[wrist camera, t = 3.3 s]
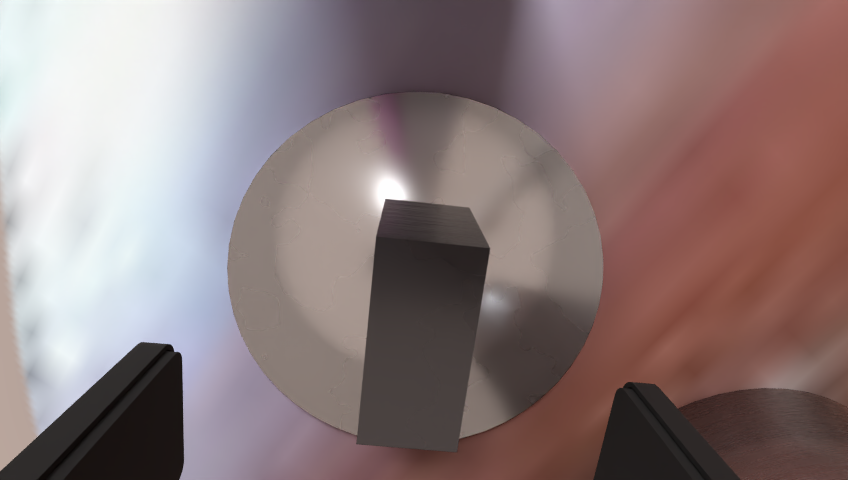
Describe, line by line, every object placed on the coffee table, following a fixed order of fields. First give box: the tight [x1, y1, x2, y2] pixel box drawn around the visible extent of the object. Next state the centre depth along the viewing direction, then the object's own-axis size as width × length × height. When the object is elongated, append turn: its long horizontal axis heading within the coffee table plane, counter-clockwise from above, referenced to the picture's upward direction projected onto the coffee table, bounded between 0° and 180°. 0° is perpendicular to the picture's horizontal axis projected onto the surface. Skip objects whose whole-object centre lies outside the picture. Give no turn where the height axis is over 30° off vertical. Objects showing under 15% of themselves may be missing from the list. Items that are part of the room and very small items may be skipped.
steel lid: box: [227, 92, 603, 452], centre depth 15 cm, size 13×13×6 cm
